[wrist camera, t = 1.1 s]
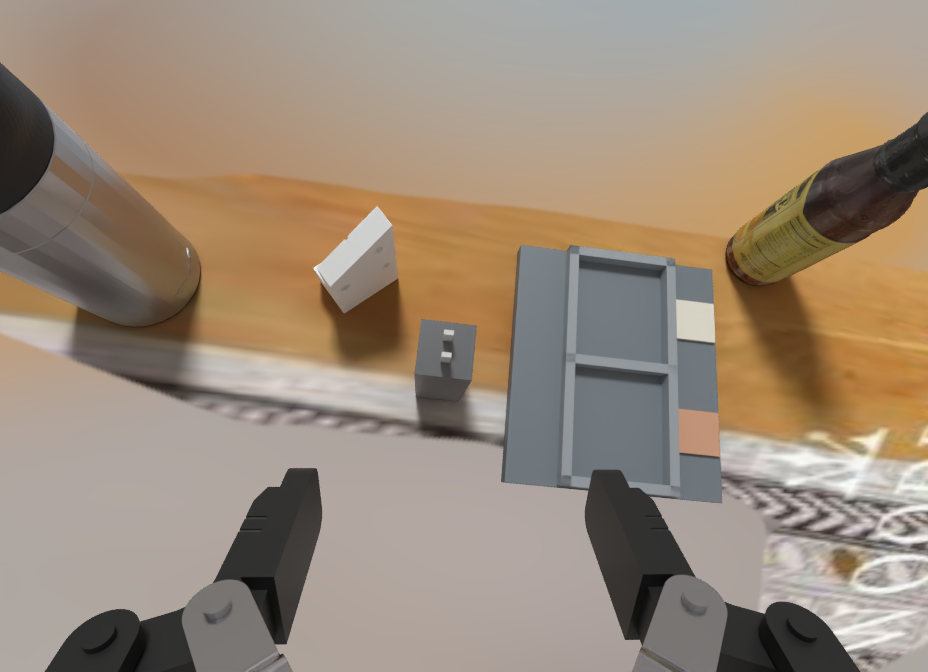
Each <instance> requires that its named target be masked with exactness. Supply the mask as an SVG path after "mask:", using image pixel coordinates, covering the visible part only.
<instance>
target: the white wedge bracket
mask: <svg viewBox="0 0 928 672" xmlns="http://www.w3.org/2000/svg"><path fill="white" fill-rule="evenodd" d="M313 269H314V270H315V272H316V274H317V276H318V278H319V280H320V281H321V283H322V284H323V286H324V287H325V288H326V290H327V291H328V292H329V294H330V295H331V297H332V298H333V299H334V301H335V302H336V303H337V305H338V306H339V308H340V309H341V310H342V312H343V313H344V314H345V313H346V312H348V311H349V310H351V309H352V308H354V307H355V306H357V305H358V304H360V303H361V302H363V301H364V300H366V299H367V298H369V297H370V296H372V295H373V294H375V293H377V292H378V291H380V290H381V289H383V288H384V287H386V286H387V285H389V284H390V283H392V282H393V281H395V280H396V279H398V272H397V263H396V254H395V245H394V236H393V228H392V224H391V223H390V222H389V221H388V219H387V218H386V217H385V215H384V214H383V213H382V211H381V210H380V209H379V208H378V206H377V207H376V208H375V209H374V210H373V211H372V212H371V213H370V214H369V215H368V216H367V217H366V218H365V219H364V220H363V221H362V222H361V223H360V224H359V225H358V226H357V227H356V228H355V229H354V230H353V231H352V232H351V233H350V234H349V235H348V239H347V240H346V241H345V239H344V240H343V241H342V242H341V243H340V244H339V246H338V247H337V248H336V249H335V250H334V251H333V252H332V253H331V254H330V255H329V256H328V257H327V258H326V259H325V260H324V261H323V262H322V263H320V264H319V265H317V266H316V267H314V268H313Z"/></svg>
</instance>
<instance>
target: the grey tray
mask: <svg viewBox="0 0 928 672" xmlns="http://www.w3.org/2000/svg"><path fill="white" fill-rule="evenodd" d="M593 470H621V471H622V473H623V475H624V477H625V479H626V481H627V483H628V485H629V487H630V488H640V489H641V490H642V491H644V492H645V493H646V494H647V495H648V496H650V497H661V498H671V499H682V500H692V501H702V502H713V503H722V486H721V463H720V440H719V417H718V394H717V371H716V348H715V325H714V302H713V279H712V270H711V269H703V268H695V267H688V266H680V265H675V259H673V258H666V257H658V256H650V255H643V254H635V253H627V252H620V251H612V250H604V249H597V248H589V247H581V246H574V245H570V247H569V248H568V250H567V251H564V250H556V249H548V248H541V247H533V246H525V245H521V246H520V248H519V251H518V254H517V268H516V282H515V296H514V310H513V324H512V338H511V352H510V366H509V380H508V394H507V408H506V422H505V436H504V450H503V464H502V478H501V482H505V483H516V484H526V485H537V486H547V487H557V488H568V489H578V490H588V491H589V485H590V480H591V475H592V472H593Z"/></svg>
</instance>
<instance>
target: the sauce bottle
mask: <svg viewBox="0 0 928 672" xmlns="http://www.w3.org/2000/svg"><path fill="white" fill-rule="evenodd" d="M927 187H928V112H927V113H926V114H925V115H923V116H922V118H921V119H920V120H919V121H918V123H917V124H915V125H913V126H912V127H911V128H909V129H907V130H906V131H905V132H903V133H902V134H900V135H899V136H897V137H896V138H894V139H892V140H889V141H887V142H886V143H884V144H883V145H880V146H877V147H875V148H872V149H868V150H865V151H862V152H858V153H855V154H852V155H848V156H845V157H842V158H839V159H835V160H833V161H831V162H829V163H828V164H826V165H825V166H823V167H822V168H821V169H819V170H818V171H816V172H815V173H814V174H812V175H811V176H810V177H808V178H807V179H806V180H804V181H803V182H802V183H800V184H799V185H798V186H796V187H795V188H793V189H792V190H791V191H789V192H788V193H787V194H785V195H784V196H783V197H781V198H780V199H779V200H778V201H776V202H774V203H773V204H772V205H770V206H769V207H768V208H766V209H765V210H764V211H762V212H761V213H760V214H758V215H757V216H756V217H754V218H753V219H752V220H750V221H749V222H747V223H746V224H745V225H743V226H742V227H741V228H740V229H739V230H738V231H737V233H736V234H735V235H734V236H733V237H732V238H731V239H730V241H729V242H728V245H727V250H726V252H727V259H728V263H729V265H730V267H731V269H732V271H733V272H734V273H735V274H736V275H737V276H738V277H739V278H740V279H742V280H743V281H745V282H746V283H748V284H754V285H766V284H773V283H775V282H777V281H780V280H782V279H785V278H787V277H789V276H791V275H793V274H795V273H797V272H799V271H801V270H804V269H806V268H807V267H809V266H811V265H813V264H815V263H817V262H819V261H821V260H823V259H825V258H827V257H829V256H831V255H833V254H835V253H837V252H839V251H841V250H843V249H845V248H847V247H849V246H851V245H853V244H855V243H857V242H859V241H861V240H863V239H865V238H867V237H868V236H869V235H870V234H872V233H874V232H876V231H878V230H880V229H883V228H885V227H887V226H889V225H890V224H892V223H893V222H895V221H896V220H897V219H899V218H900V217H901V216H902V215H903V214H905V212H906V211H907V210H908V208H909V207H910V206H911V204H912V202H913V199H914V198H915V197H916V195H917V193H918V191H919V190H921V189H924V188H927Z"/></svg>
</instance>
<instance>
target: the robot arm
mask: <svg viewBox="0 0 928 672" xmlns="http://www.w3.org/2000/svg"><path fill="white" fill-rule="evenodd" d="M0 271H1V272H3V273H5V274H7V275H10V276H12V277H14V278H16V279H18V280H21V281H23V282H25V283H27V284H29V285H32V286H34V287H36V288H38V289H40V290H43V291H45V292H47V293H49V294H51V295H54V296H56V297H58V298H60V299H62V300H64V301H67V302H69V303H71V304H73V305H75V306H77V307H79V308H82V309H84V310H86V311H88V312H90V313H93V314H95V315H97V316H99V317H101V318H104V319H106V320H108V321H110V322H113V323H116V324H119V325H122V326H130V327H140V326H149V325H152V324H156V323H159V322H162V321H164V320H166V319H168V318H170V317H172V316H173V315H174V314H176V313H177V312H179V311H180V310H181V309H182V308H183V307H184V306H185V305H186V304H187V303H188V302H189V300H190V299H191V297H192V296H193V294H194V293H195V290H196V288H197V285H198V282H199V277H200V263H199V259H198V256H197V253H196V251H195V249H194V248H193V246H192V245H191V243H190V242H189V241H188V240H187V239H186V238H185V237H183V236H182V235H181V234H180V233H179V232H178V231H177V230H176V229H175V228H174V227H173V226H172V225H171V224H170V223H169V222H168V221H167V220H166V219H165V218H164V217H163V216H162V215H161V214H160V213H159V212H158V211H157V210H156V209H155V208H154V207H153V206H152V205H151V204H150V203H148V202H147V201H146V200H145V199H144V198H143V197H142V196H141V195H140V194H139V193H138V192H137V191H136V190H135V189H134V188H133V187H132V186H131V185H130V184H129V183H128V182H126V181H125V180H124V179H123V178H122V177H121V176H120V175H119V174H118V173H117V172H116V171H115V170H114V169H113V168H112V167H111V166H110V165H109V164H108V163H107V162H105V161H104V160H103V159H102V158H101V157H100V156H99V155H98V154H97V153H96V152H95V151H94V150H93V149H92V148H91V147H90V146H89V145H88V144H87V143H86V142H85V141H84V140H83V139H82V138H80V137H79V136H78V135H77V134H76V133H75V132H74V131H73V130H72V129H71V128H70V127H69V126H68V125H67V124H65V123H64V122H63V121H62V120H61V119H60V118H59V117H58V116H57V115H56V114H55V113H54V112H53V111H52V110H51V109H50V108H49V107H48V106H46V104H44V103H43V102H42V101H41V100H40V99H39V98H38V97H37V96H36V95H35V94H34V93H33V92H32V91H30V89H29V88H27V87H26V86H25V85H24V84H23V83H22V82H21V81H20V80H19V79H18V78H17V77H16V76H14V75H13V74H12V73H11V72H10V71H9V70H8V69H7V68H5V66H3V65H2V64H1V63H0ZM321 521H322V505H321V496H320V488H319V480H318V472H317V469H316V468H290V469H288V471H287V473H286V475H285V477H284V479H283V481H282V484H281V486H280V487H268V488H267V489H265V490H264V491H263V492H262V493H261V494H260V495H259V496H258V497H257V498H256V499H255V500H254V501H253V503H252V505H251V507H250V509H249V512H248V513H247V516H246V519H245V520H244V522H243V524H242V526H241V528H240V532H238V534H237V536H236V538H235V540H234V542H233V544H232V546H231V548H230V550H229V552H228V554H227V556H226V558H225V561H224V563H223V564H222V566H221V569H220V571H219V573H218V575H217V577H216V579H215V580H214V582H213V584H210V585H208V586H207V587H205V588H203V589H202V590H200V591H199V592H198V593H197V594H196V595H194V596H193V597H192V599H191V600H190V601H189V602H188V604H187V606H186V607H184V608H182V609H180V610H177V611H174V612H171V613H168V614H165V615H161V616H158V617H154V618H151V619H148V620H144V621H141V622H140V621H139V618H138V617H137V615H136V614H135V613H134V612H132V611H130V610H125V609H116V610H111V611H107V612H104V613H101V614H99V615H97V616H95V617H92V618H91V619H89V620H87V621H86V622H84V623H83V624H82V625H81V626H79V627H78V628H77V629H76V630H75V631H73V632H72V633H71V635H70V636H69V637H68V638H67V639H66V641H65V642H64V643H63V645H62V646H61V648H60V649H59V651H58V652H57V654H56V655H55V657H54V659H53V660H52V662H51V663H50V665H49V666H48V668H47V669H46V671H45V672H292V669H291V667H290V665H289V663H288V661H287V659H286V658H285V656H284V655H283V654H281V655H280V654H279V652H278V650H277V648H276V646H275V644H287V640H288V637H289V634H290V631H291V627H292V624H293V620H294V617H295V613H296V610H297V607H298V603H299V600H300V596H301V593H302V590H303V586H304V583H305V580H306V576H307V573H308V570H309V566H310V563H311V559H312V556H313V553H314V549H315V546H316V543H317V539H318V535H319V532H320V528H321ZM585 522H586V528H587V532H588V535H589V538H590V541H591V543H592V546H593V549H594V552H595V555H596V558H597V561H598V564H599V566H600V569H601V572H602V575H603V578H604V581H605V584H606V586H607V589H608V592H609V595H610V598H611V601H612V604H613V606H614V609H615V612H616V615H617V618H618V621H619V624H620V627H621V629H622V632H623V635H624V638H625V640H640V641H641V644H642V647H641V649H640V651H639V654H638V657H637V660H636V662H635V666H634V668H633V671H632V672H860V670H859V669H858V668H857V666H856V665H855V663H854V662H853V660H852V659H851V658H850V656H849V655H848V653H847V652H846V650H845V649H844V647H843V646H842V645H841V643H840V642H839V640H838V639H837V637H836V636H835V635H834V633H833V632H832V630H831V629H830V628H829V627H828V626H827V624H826V623H825V622H824V621H823V620H821V619H820V618H819V617H818V616H816V615H815V614H814V613H812V612H811V611H809V610H807V609H805V608H803V607H801V606H799V605H796V604H793V603H789V602H775V603H773V604H771V605H770V606H769V607H768V608H767V610H766V612H765V614H763V613H760V612H756V611H752V610H749V609H745V608H741V607H738V606H734V605H731V604H729V603H726V602H724V601H723V599H722V597H721V596H720V595H719V594H718V592H717V591H716V590H715V589H714V588H712V587H711V586H710V585H709V584H707V583H706V582H704V581H702V580H700V579H698V578H696V577H695V575H694V573H693V572H692V570H691V568H690V566H689V564H688V563H687V561H686V559H685V557H684V555H683V553H682V552H681V550H680V548H679V546H678V544H677V543H676V541H675V539H674V537H673V535H672V533H671V532H670V531H669V530H668V526H667V525H666V523H665V521H664V519H662V515H661V513H660V512H659V510H658V508H657V506H656V504H655V503H654V501H653V500H652V499H651V498H650V497H649V496H648V495H647V494H646V493H645V492H644V491H642V490H641V489H640V488H630V487H629V485H628V483H627V481H626V479H625V477H624V475H623V473H622V471H621V470H593V472H592V475H591V480H590V485H589V491H588V496H587V501H586V507H585Z"/></svg>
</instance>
